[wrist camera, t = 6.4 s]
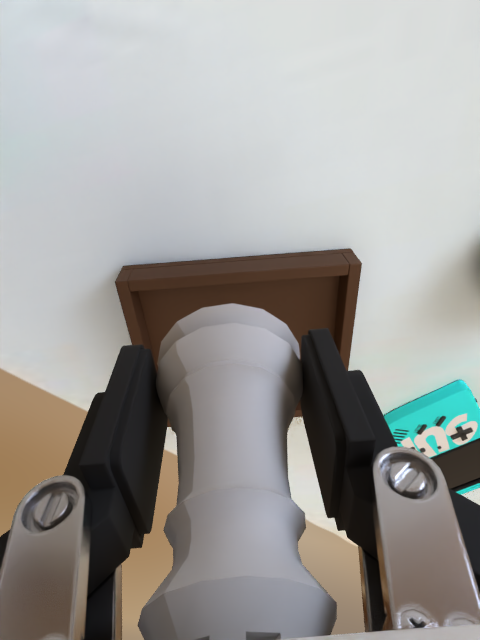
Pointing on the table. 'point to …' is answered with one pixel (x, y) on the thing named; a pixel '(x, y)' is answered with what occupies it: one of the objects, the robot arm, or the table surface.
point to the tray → (245, 294)
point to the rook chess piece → (233, 484)
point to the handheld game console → (443, 433)
